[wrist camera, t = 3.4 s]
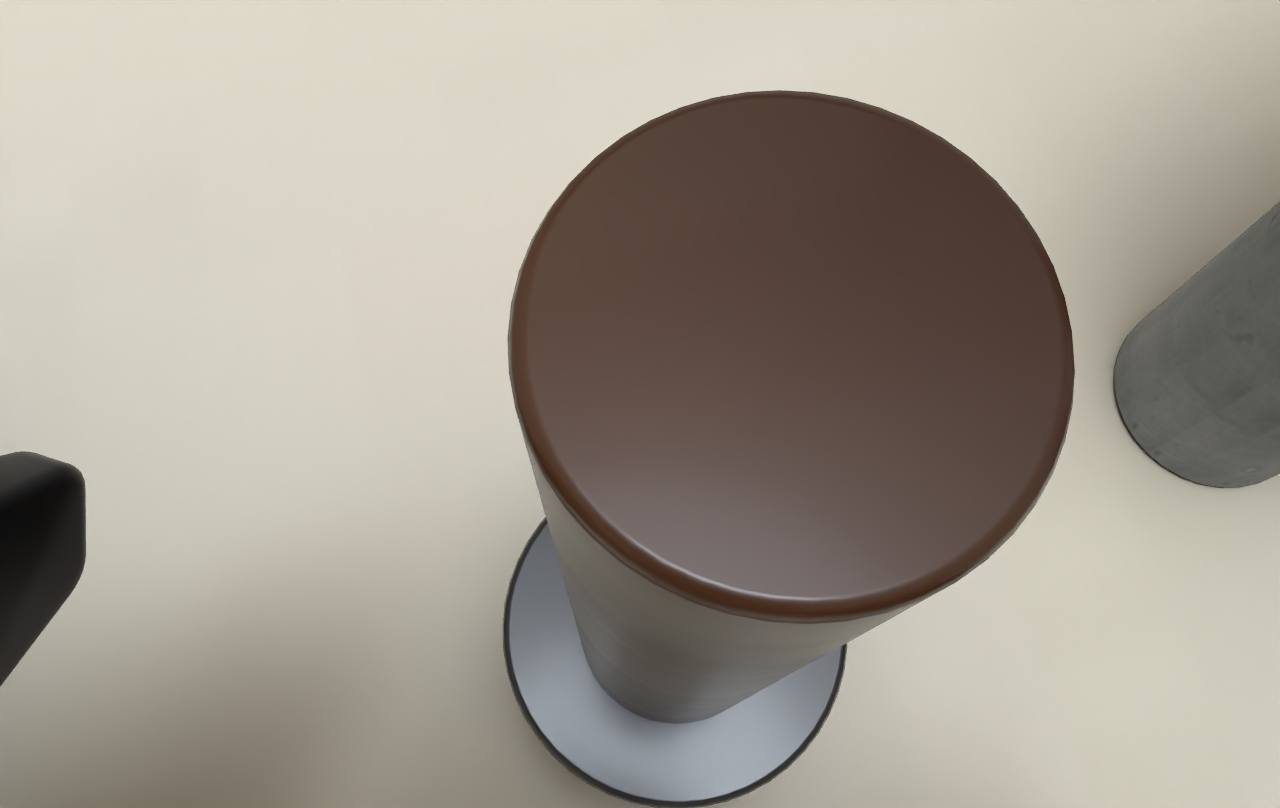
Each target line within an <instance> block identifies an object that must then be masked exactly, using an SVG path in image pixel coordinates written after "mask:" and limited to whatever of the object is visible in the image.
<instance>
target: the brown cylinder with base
mask: <svg viewBox="0 0 1280 808" xmlns="http://www.w3.org/2000/svg"><path fill="white" fill-rule="evenodd" d="M508 359H509V376H510V381H511V386H512V392H513V397H514V403H515V408H516V412H517V415H518V419H519V423H520V426H521V430H522V433H523V437H524V440H525V444H526V447H527V451H528V455H529V458H530V462H531V465H532V469H533V472H534V476H535V480H536V483H537V487H538V490H539V494H540V497H541V501H542V505H543V508H544V512H545V515H546V517H545V519H544V520H543V521H542V522H541V523H540V524H539V526H538V527H537V529H536V530H535V531H534V533H533V534H532V536H531V537H530V539H529V540H528V542H527V544H526V546H525V547H524V549H523V551H522V553H521V555H520V557H519V559H518V561H517V564H516V566H515V569H514V572H513V575H512V577H511V580H510V583H509V588H508V592H507V596H506V601H505V607H504V618H503V650H504V656H505V662H506V668H507V673H508V677H509V680H510V683H511V686H512V690H513V693H514V696H515V698H516V700H517V702H518V705H519V707H520V709H521V711H522V713H523V716H524V717H525V719H526V721H527V722H528V724H529V725H530V727H531V729H532V730H533V732H534V733H535V735H536V736H537V738H538V739H539V740H540V741H541V742H542V744H543V745H544V746H545V747H546V748H547V750H548V751H549V752H550V753H551V755H553V756H554V757H555V758H556V759H557V760H558V761H559V762H560V763H561V764H562V765H563V766H565V767H566V768H567V769H568V770H569V771H570V772H572V773H573V774H575V775H576V776H577V777H579V778H580V779H582V780H583V781H585V782H586V783H587V784H589V785H591V786H593V787H595V788H597V789H599V790H601V791H603V792H605V793H607V794H609V795H611V796H614V797H617V798H620V799H622V800H625V801H628V802H631V803H635V804H640V805H645V806H650V807H655V808H697V807H705V806H709V805H714V804H718V803H723V802H727V801H729V800H732V799H735V798H737V797H740V796H743V795H745V794H748V793H750V792H752V791H753V790H755V789H757V788H759V787H761V786H762V785H764V784H766V783H768V782H769V781H771V780H772V779H773V778H775V777H776V776H778V775H779V774H780V773H782V772H783V771H784V770H786V769H787V768H788V767H789V766H790V765H791V764H792V763H793V762H794V761H795V760H796V759H797V758H798V757H799V756H800V755H801V754H802V753H803V752H804V751H805V750H806V749H807V747H808V746H809V745H810V743H811V742H812V741H813V739H814V738H815V737H816V736H817V734H818V733H819V731H820V729H821V728H822V726H823V724H824V722H825V721H826V719H827V717H828V715H829V714H830V711H831V709H832V707H833V704H834V702H835V699H836V697H837V694H838V692H839V688H840V684H841V680H842V677H843V673H844V668H845V660H846V653H847V642H849V641H851V640H853V639H855V638H856V637H858V636H860V635H862V634H864V633H865V632H867V631H869V630H871V629H873V628H874V627H876V626H878V625H880V624H882V623H883V622H885V621H887V620H889V619H891V618H892V617H894V616H896V615H898V614H900V613H901V612H903V611H905V610H907V609H909V608H910V607H912V606H914V605H916V604H918V603H919V602H921V601H923V600H925V599H927V598H928V597H930V596H932V595H934V594H936V593H937V592H939V591H941V590H943V589H945V588H946V587H948V586H950V585H952V584H954V583H955V582H957V581H958V580H960V579H961V578H963V577H964V576H965V575H967V574H968V573H969V572H971V571H972V570H974V569H975V568H976V567H978V566H979V565H980V564H982V563H983V562H984V561H986V560H987V559H988V558H989V557H990V556H991V555H992V554H993V553H994V552H995V551H996V550H997V549H998V548H999V547H1000V546H1001V545H1003V544H1004V543H1005V542H1006V541H1007V540H1008V539H1009V538H1010V537H1011V536H1012V535H1013V534H1014V532H1015V531H1016V530H1017V528H1018V527H1019V526H1020V525H1021V523H1022V522H1023V521H1024V519H1025V518H1026V517H1027V515H1028V514H1029V513H1030V511H1031V510H1032V509H1033V507H1034V506H1035V505H1036V503H1037V501H1038V499H1039V497H1040V496H1041V494H1042V492H1043V490H1044V488H1045V487H1046V485H1047V483H1048V481H1049V479H1050V477H1051V476H1052V474H1053V471H1054V469H1055V466H1056V463H1057V461H1058V458H1059V455H1060V452H1061V450H1062V447H1063V444H1064V442H1065V438H1066V433H1067V429H1068V424H1069V419H1070V415H1071V410H1072V403H1073V388H1074V374H1075V369H1074V355H1073V341H1072V330H1071V325H1070V321H1069V316H1068V311H1067V306H1066V302H1065V297H1064V295H1063V292H1062V289H1061V286H1060V283H1059V280H1058V278H1057V275H1056V272H1055V269H1054V266H1053V264H1052V262H1051V260H1050V258H1049V256H1048V254H1047V252H1046V250H1045V249H1044V247H1043V245H1042V243H1041V241H1040V239H1039V237H1038V235H1037V233H1036V232H1035V230H1034V229H1033V227H1032V226H1031V225H1030V223H1029V222H1028V220H1027V219H1026V217H1025V216H1024V214H1023V213H1022V211H1021V210H1020V208H1019V207H1018V206H1017V205H1016V203H1015V202H1014V201H1013V200H1012V199H1011V198H1010V197H1009V195H1008V194H1007V193H1006V192H1005V191H1004V190H1003V188H1002V187H1001V186H1000V185H999V184H998V183H997V182H996V181H995V180H994V179H993V178H992V177H991V176H990V175H989V174H988V173H987V172H986V171H984V170H983V169H982V168H981V167H980V166H979V165H978V164H977V163H976V162H974V161H973V160H972V159H971V158H970V157H969V156H967V155H966V154H964V153H963V152H962V151H960V150H959V149H957V148H956V147H955V146H953V145H952V144H950V143H949V142H948V141H946V140H945V139H943V138H942V137H940V136H938V135H936V134H935V133H933V132H931V131H929V130H927V129H926V128H924V127H922V126H920V125H918V124H917V123H915V122H913V121H911V120H908V119H906V118H904V117H901V116H899V115H896V114H894V113H892V112H889V111H887V110H884V109H882V108H879V107H876V106H872V105H869V104H865V103H862V102H858V101H855V100H852V99H848V98H843V97H837V96H831V95H825V94H820V93H814V92H797V91H780V90H779V91H761V92H745V93H739V94H733V95H727V96H721V97H716V98H711V99H708V100H704V101H701V102H697V103H694V104H691V105H687V106H684V107H681V108H678V109H676V110H674V111H671V112H669V113H667V114H664V115H662V116H660V117H657V118H655V119H653V120H650V121H649V122H647V123H645V124H644V125H642V126H640V127H638V128H637V129H635V130H633V131H632V132H630V133H628V134H626V135H625V136H623V137H621V138H620V139H619V140H618V141H616V142H615V143H614V144H612V145H611V146H610V147H608V148H607V149H606V150H604V151H603V152H602V153H601V154H599V155H598V156H597V157H595V158H594V159H593V160H592V161H591V162H590V163H589V164H588V165H587V166H586V167H585V168H584V169H583V170H582V171H581V172H580V173H579V174H578V175H577V176H576V177H575V178H574V179H573V180H572V181H571V182H570V183H569V184H568V186H567V187H566V188H565V189H564V191H563V192H562V193H561V195H560V196H559V197H558V199H557V200H556V201H555V203H554V204H553V205H552V206H551V208H550V209H549V210H548V212H547V214H546V215H545V217H544V219H543V221H542V222H541V224H540V226H539V228H538V229H537V231H536V233H535V235H534V236H533V238H532V240H531V243H530V245H529V248H528V250H527V253H526V255H525V258H524V260H523V263H522V265H521V268H520V270H519V274H518V278H517V282H516V286H515V290H514V294H513V298H512V302H511V310H510V320H509V330H508Z"/></svg>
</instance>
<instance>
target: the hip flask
mask: <svg viewBox="0 0 1280 808" xmlns="http://www.w3.org/2000/svg"><path fill="white" fill-rule="evenodd" d="M1114 386H1115V392H1116V398H1117V403H1118V406H1119V409H1120V412H1121V414H1122V417H1123V420H1124V422H1125V423H1126V425H1127V427H1128V428H1129V430H1130V432H1131V434H1132V435H1133V437H1134V438H1135V440H1136V441H1137V442H1138V443H1139V444H1140V445H1141V446H1142V448H1143V449H1144V450H1145V451H1146V452H1147V453H1148V454H1149V455H1150V456H1151V457H1152V458H1154V459H1155V460H1156V461H1157V462H1159V463H1160V464H1161V465H1162V466H1163V467H1165V468H1167V469H1169V470H1170V471H1172V472H1174V473H1176V474H1177V475H1179V476H1181V477H1183V478H1186V479H1189V480H1191V481H1194V482H1197V483H1199V484H1204V485H1210V486H1215V487H1243V486H1248V485H1252V484H1257V483H1260V482H1262V481H1264V480H1266V479H1269V478H1271V477H1273V476H1275V475H1277V474H1280V202H1279V203H1278V204H1277V205H1275V206H1274V207H1273V208H1272V209H1271V210H1270V211H1268V212H1267V213H1266V214H1265V215H1264V216H1263V217H1261V218H1260V219H1259V220H1258V221H1257V222H1256V223H1254V224H1253V225H1252V226H1251V227H1250V228H1249V229H1248V230H1246V231H1245V232H1244V233H1243V234H1242V235H1241V236H1239V237H1238V238H1237V239H1236V240H1235V241H1234V242H1232V243H1231V244H1230V245H1229V246H1228V247H1227V248H1225V249H1224V250H1223V251H1222V252H1221V253H1220V254H1219V255H1217V256H1216V257H1215V258H1214V259H1213V260H1212V261H1210V262H1209V263H1208V264H1207V265H1206V266H1205V267H1203V268H1202V269H1201V270H1200V271H1199V272H1198V273H1196V274H1195V275H1194V276H1193V277H1192V278H1191V279H1190V280H1188V281H1187V282H1186V283H1185V284H1184V285H1183V286H1181V287H1180V288H1179V289H1178V290H1177V291H1176V292H1174V293H1173V294H1172V295H1171V296H1170V297H1169V298H1167V299H1166V300H1165V301H1164V302H1163V303H1162V304H1160V305H1159V306H1158V307H1157V308H1156V309H1155V310H1154V311H1152V312H1151V313H1150V314H1149V315H1148V316H1147V317H1145V318H1144V319H1143V320H1142V321H1141V322H1140V323H1138V325H1137V326H1136V327H1135V328H1134V329H1133V330H1132V331H1131V333H1130V334H1129V335H1128V336H1127V338H1126V340H1125V342H1124V343H1123V345H1122V347H1121V349H1120V351H1119V355H1118V358H1117V362H1116V366H1115V381H1114Z"/></svg>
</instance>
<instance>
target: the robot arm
mask: <svg viewBox="0 0 1280 808" xmlns="http://www.w3.org/2000/svg"><path fill="white" fill-rule="evenodd" d="M85 557H86V508H85V481H84V478H83V476H82V474H81V472H80V471H79V470H78V469H77V468H76V467H74V466H73V465H71V464H68V463H65V462H62V461H58V460H55V459H52V458H49V457H46V456H43V455H40V454H37V453H32V452H16V453H11V454H7V455H2V456H0V686H1V685H2V684H3V682H4V681H5V680H6V678H7V677H8V676H9V674H10V673H11V672H12V670H13V669H14V668H15V666H16V665H17V664H18V662H19V661H20V660H21V659H22V657H23V656H24V655H25V653H26V652H27V651H28V649H29V648H30V647H31V645H32V644H33V643H34V641H35V640H36V639H37V637H38V636H39V635H40V633H41V632H42V631H43V630H44V628H45V627H46V626H47V624H48V623H49V622H50V620H51V619H52V618H53V616H54V615H55V614H56V612H57V611H58V610H59V608H60V607H61V606H62V604H63V603H64V602H65V600H66V599H67V598H68V597H69V595H70V594H71V592H72V591H73V589H74V588H75V586H76V585H77V583H78V581H79V579H80V577H81V574H82V571H83V568H84V564H85Z"/></svg>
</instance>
